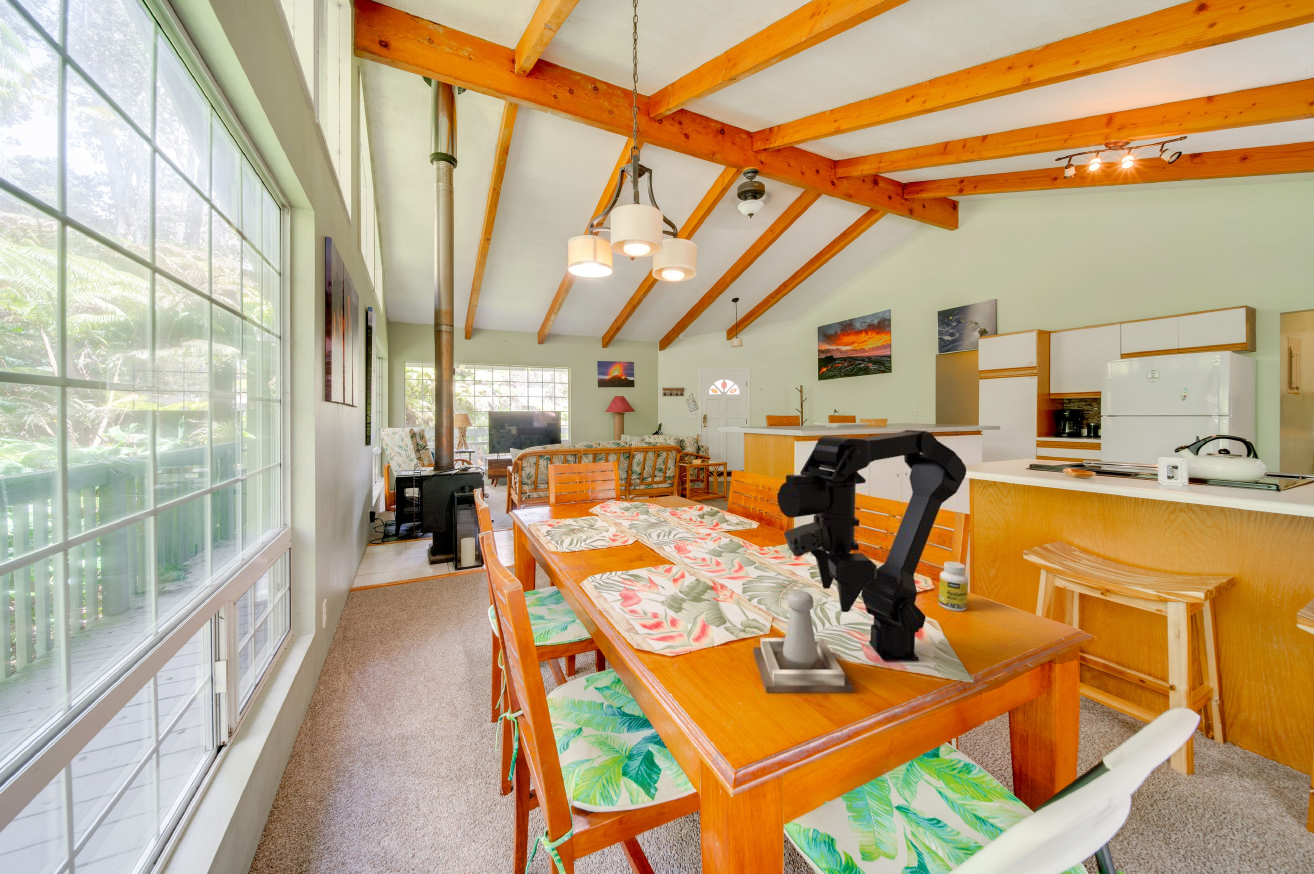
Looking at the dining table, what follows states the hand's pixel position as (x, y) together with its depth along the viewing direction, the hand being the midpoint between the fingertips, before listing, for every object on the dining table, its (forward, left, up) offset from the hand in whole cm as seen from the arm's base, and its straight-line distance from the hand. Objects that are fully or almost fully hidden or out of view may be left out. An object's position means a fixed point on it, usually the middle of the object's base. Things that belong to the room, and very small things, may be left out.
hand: (835, 599), depth 81 cm
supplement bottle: (-35, -25, -13) cm, 45 cm away
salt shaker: (+6, 0, -12) cm, 14 cm away
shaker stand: (+6, 0, -13) cm, 14 cm away
